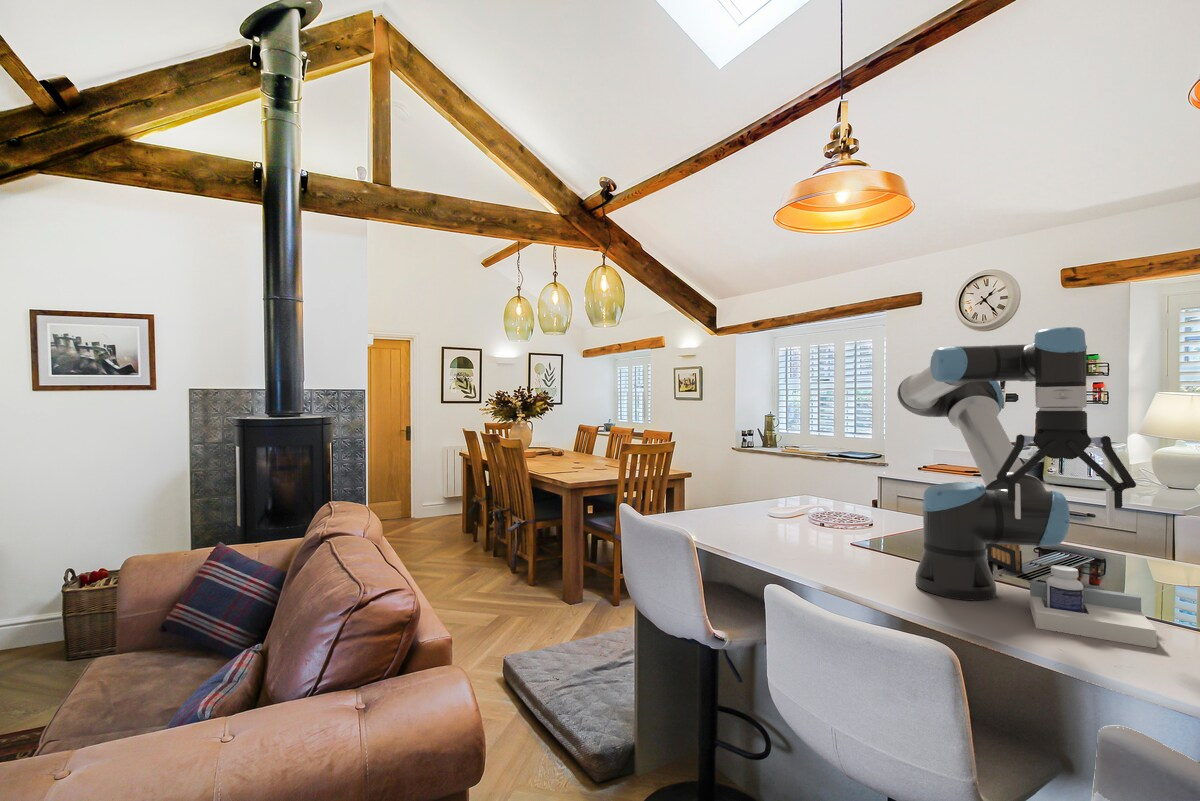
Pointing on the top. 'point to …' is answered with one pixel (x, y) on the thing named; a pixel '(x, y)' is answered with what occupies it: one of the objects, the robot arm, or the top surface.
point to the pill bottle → (1064, 589)
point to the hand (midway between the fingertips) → (1062, 521)
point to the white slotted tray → (1096, 616)
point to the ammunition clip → (1005, 556)
